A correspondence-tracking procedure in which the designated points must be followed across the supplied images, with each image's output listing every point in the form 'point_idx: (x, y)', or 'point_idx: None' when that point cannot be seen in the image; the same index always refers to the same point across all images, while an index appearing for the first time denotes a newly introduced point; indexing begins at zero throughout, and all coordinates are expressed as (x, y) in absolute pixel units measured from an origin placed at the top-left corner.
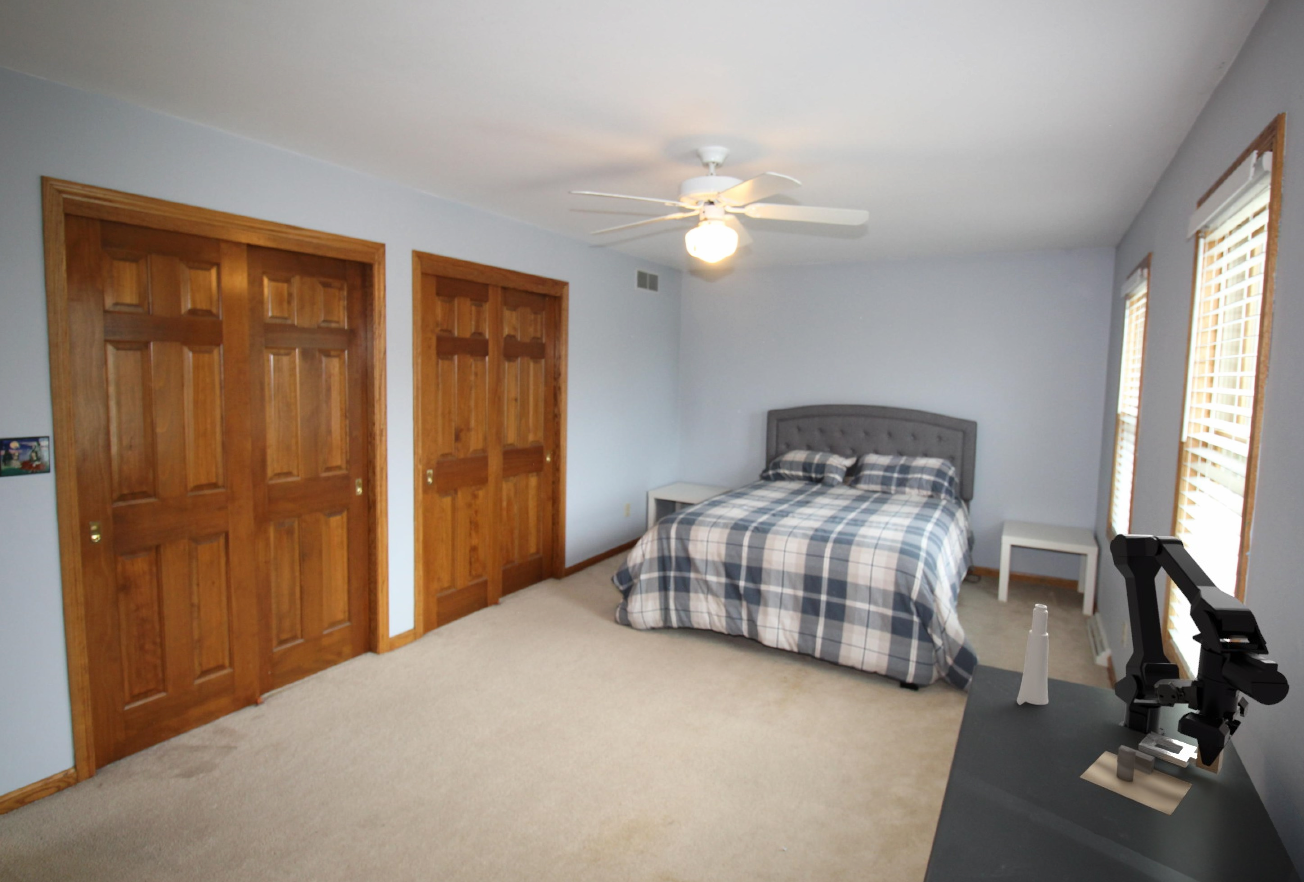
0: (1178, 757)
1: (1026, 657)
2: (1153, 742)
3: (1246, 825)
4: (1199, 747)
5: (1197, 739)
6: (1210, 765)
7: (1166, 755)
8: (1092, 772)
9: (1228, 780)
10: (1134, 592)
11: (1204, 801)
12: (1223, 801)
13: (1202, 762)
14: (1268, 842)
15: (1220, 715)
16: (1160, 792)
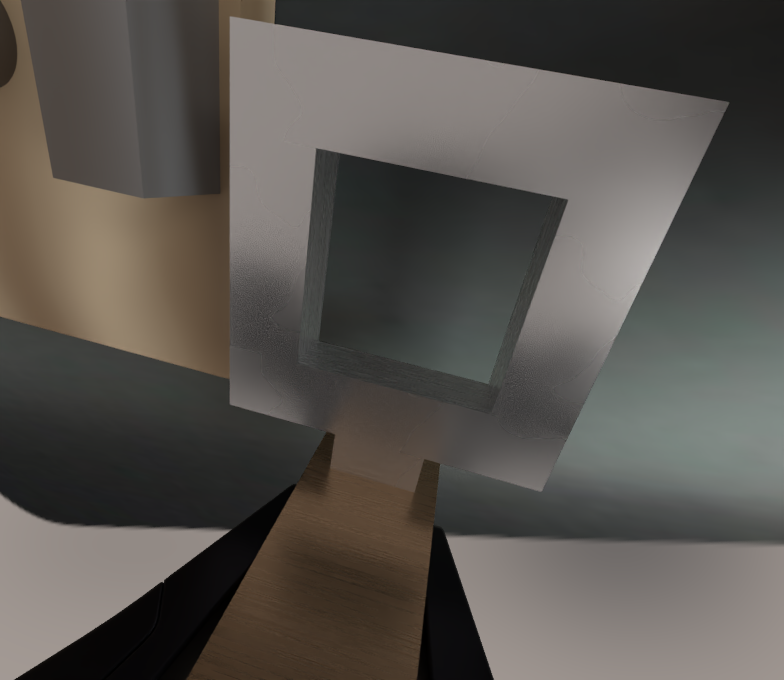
0: (248, 363)
1: None
2: (405, 165)
3: (180, 492)
4: (164, 582)
5: (39, 669)
6: None
7: (237, 282)
8: None
9: (506, 501)
10: None
11: (229, 398)
12: (289, 457)
13: (284, 491)
14: (137, 522)
15: None
16: (18, 242)
